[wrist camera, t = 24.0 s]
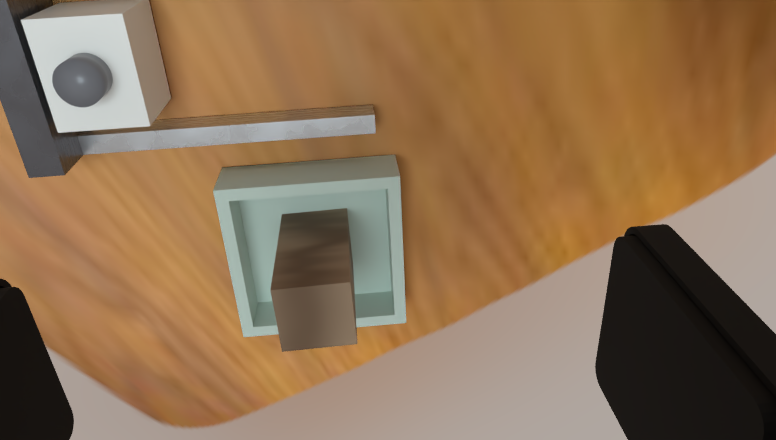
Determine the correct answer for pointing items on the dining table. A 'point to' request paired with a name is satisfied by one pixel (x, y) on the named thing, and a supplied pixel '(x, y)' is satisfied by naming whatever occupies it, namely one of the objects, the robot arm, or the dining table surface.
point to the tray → (304, 194)
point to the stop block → (314, 281)
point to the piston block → (99, 64)
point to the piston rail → (62, 150)
